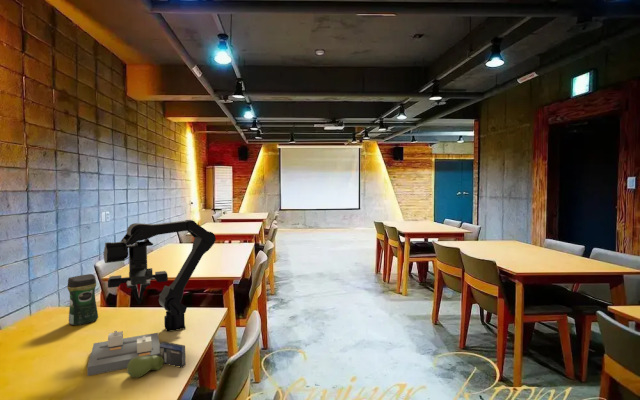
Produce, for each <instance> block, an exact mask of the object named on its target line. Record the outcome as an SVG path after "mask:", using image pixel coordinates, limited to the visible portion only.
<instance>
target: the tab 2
mask: <svg viewBox="0 0 640 400" xmlns="http://www.w3.org/2000/svg"><path fill="white" fill-rule="evenodd" d="M147 351H152V342H151V336H150V337H145V336H143V338H138V339H137V353H142V352H147Z"/></svg>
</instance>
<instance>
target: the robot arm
mask: <svg viewBox="0 0 640 400" xmlns="http://www.w3.org/2000/svg"><path fill="white" fill-rule="evenodd" d="M181 232H188V233H189V234H190V236H191V237H193V239H194V240H193V242H192V248H191V251H190V253H189V254H188V256H187V258H186V259H185V261H184V263H183V265H182V266H181V268H180V269H179V271H178V273H177V275H176V277H174V280H173V281H172V283H171V284H169V286H167V285H164V286H163V289H162V291H161V292H160V293H158V296H159V297H158V302H159V303H158V304H159V305H160V306H161V307H162V308H164V310H165V315H164V319H163V320H164V330H166V332H168V333H169V332H173V331H180V330H186V325H185V314H186V312H187V306H186V305H184V303H182V300H183V296H184V291H185V288H186V286H187V284H188V282H189V281H190V279H191V277H192V275H193V273H194V272H195V271H196V268H197V266H198V264H199V263H200V261H201V259H202V257H203V256H204V254H205V253H207V252H208V251H210V249H212V247H213V246H214V245H215V243H216V240H217V238H216V234H215V233H213V232H212V231H208V230H206V229H205V228H204V227H202V226H200V225H199V224H198V223H197V222H196V221H195V220H193V219H192V220H191V219H186V220H181V221H180V220H179V221H178V220H177V221H171V222H162V223H156V224H155V223H138V222H137V223H134V222H133V223H132V224H130V225H129V226H128V227H127V229H126V233H125V235H124V236H123V238H122V239H121V240H120V241H118V242H116V241H115V242H109V241H108V242H105V243H104V250H103V260H104V263H105V264H109V263H119V262H124V261H125V260H126V259H128V265H129V266H128V267H129V271H128V276H126V277H122V275H121V274H120V275H111V276H109V277H108V279H107V288H109V289H112V288H118V287H120V286H121V284H126V288H127V289H131V291H132V292H133V295H134V297H135V300H136V302H137V304H141V303H142V300H143V296H144V293H145V291H146V290H147V287H149V286H151V281H156V282H157V283H164V282H168V281H169V279H168V278H169V277H168V276H169V275H168V272H167V271H166V270H161V271H155V272H154V274H153V268H151V267H150V268H148V246H149V247H150V246H151V247H152V246H153V245H154V243H152V242H151V241H150V240H149V239H151V238H153V237H156V236H159V235H166V234H173V233H181ZM138 285H140V288H138Z"/></svg>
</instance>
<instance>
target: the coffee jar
mask: <svg viewBox="0 0 640 400" xmlns="http://www.w3.org/2000/svg"><path fill="white" fill-rule="evenodd" d="M66 286H67V287H66V288H67V291H68V292H69V308H68V309H69V311H68V323H69V324H70V326H82V325H85V324H89V323H92V322H95V321H97V320H98V318H99V313H98V307H97V301H96V287H97V280H96V276H95V275H94V274H92V273H88V274H81V275H76V276H70V277H68V279H67V285H66Z"/></svg>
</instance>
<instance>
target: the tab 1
mask: <svg viewBox="0 0 640 400" xmlns="http://www.w3.org/2000/svg"><path fill="white" fill-rule="evenodd" d="M123 338H124V330H122V331H118V330H115V331H114V332H110V333H108V336H107V341H108V347H113V346H119V345H123Z"/></svg>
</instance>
